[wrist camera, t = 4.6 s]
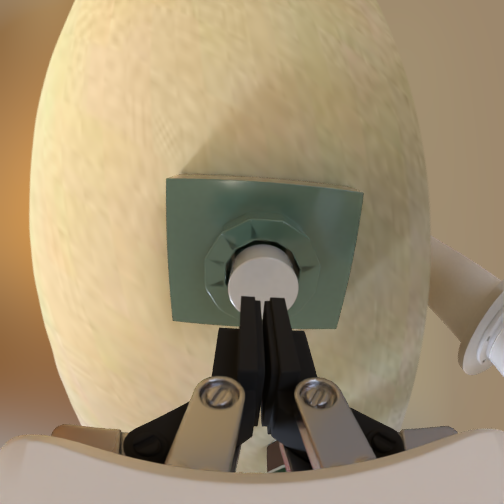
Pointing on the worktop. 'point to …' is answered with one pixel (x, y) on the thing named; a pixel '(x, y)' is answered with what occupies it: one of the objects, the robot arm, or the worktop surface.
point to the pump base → (259, 242)
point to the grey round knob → (262, 276)
